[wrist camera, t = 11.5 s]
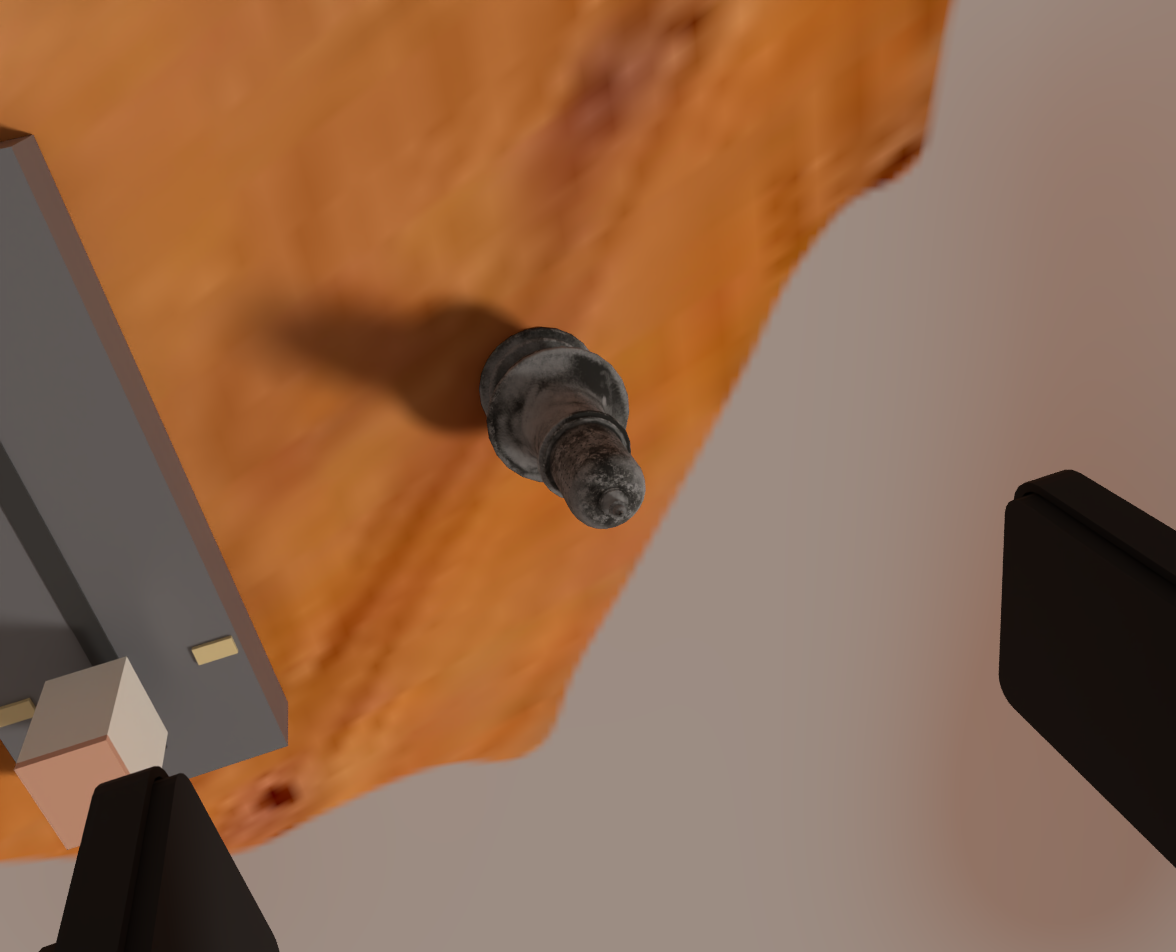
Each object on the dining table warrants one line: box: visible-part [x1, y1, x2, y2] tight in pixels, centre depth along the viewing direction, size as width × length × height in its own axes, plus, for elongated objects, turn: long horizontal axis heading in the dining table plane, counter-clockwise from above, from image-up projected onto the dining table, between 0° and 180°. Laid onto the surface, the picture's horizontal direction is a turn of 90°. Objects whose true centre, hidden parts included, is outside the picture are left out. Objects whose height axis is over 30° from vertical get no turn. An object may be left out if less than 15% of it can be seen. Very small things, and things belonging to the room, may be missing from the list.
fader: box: [14, 656, 168, 850], centre depth 36 cm, size 4×3×6 cm
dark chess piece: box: [479, 327, 645, 529], centre depth 36 cm, size 6×6×12 cm
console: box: [0, 135, 288, 779], centre depth 37 cm, size 26×10×3 cm, turn 11°
